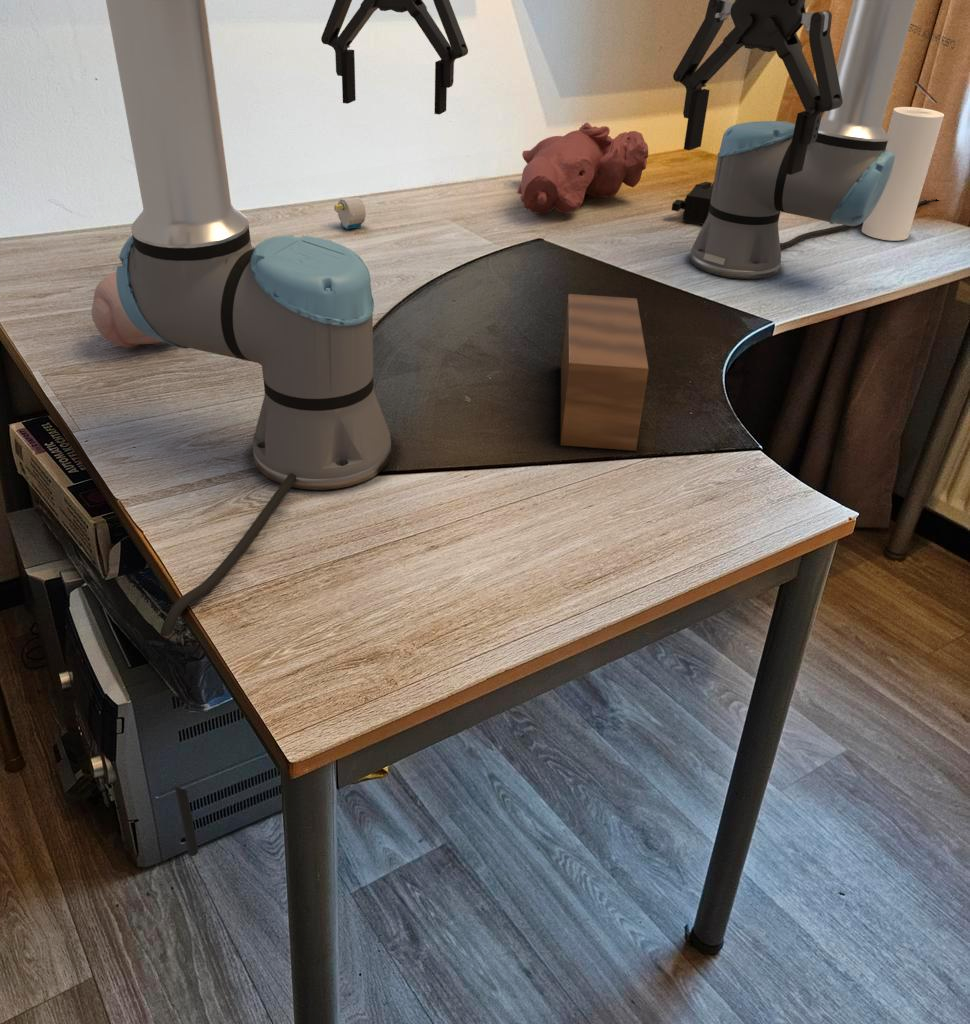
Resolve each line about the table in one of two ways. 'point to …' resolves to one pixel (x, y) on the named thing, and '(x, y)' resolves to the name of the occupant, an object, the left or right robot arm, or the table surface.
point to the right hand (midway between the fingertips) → (741, 159)
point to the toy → (696, 203)
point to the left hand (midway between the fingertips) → (394, 107)
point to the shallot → (115, 316)
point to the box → (602, 373)
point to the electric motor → (351, 212)
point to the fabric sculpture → (580, 168)
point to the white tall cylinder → (905, 167)
